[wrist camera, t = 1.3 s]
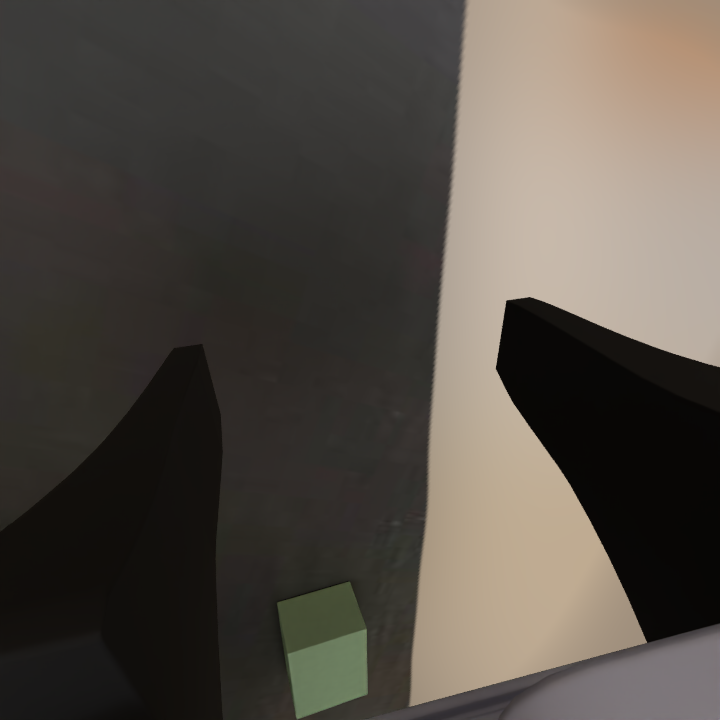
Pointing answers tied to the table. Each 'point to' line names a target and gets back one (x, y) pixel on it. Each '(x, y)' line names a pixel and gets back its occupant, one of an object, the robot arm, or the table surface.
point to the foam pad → (324, 648)
